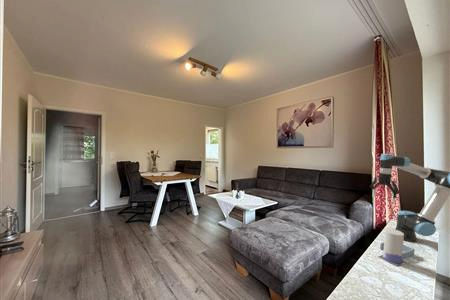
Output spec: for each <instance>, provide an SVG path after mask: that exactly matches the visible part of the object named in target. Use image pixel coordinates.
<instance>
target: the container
mask: <svg viewBox="0 0 450 300" xmlns="http://www.w3.org/2000/svg"><path fill="white" fill-rule="evenodd" d="M383 239H384V240H383V242H384V249H383V250H382V252H383V253H382V255H383V257H384V258H385V259H386V260H388V261H391V262H394V263H401V261H402V253H403V251H402V250H403V245H404V233H402V232H400V231H398V230H395V229H394V228H385V230H384V238H383Z"/></svg>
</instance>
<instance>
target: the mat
mask: <svg viewBox="0 0 450 300" xmlns="http://www.w3.org/2000/svg"><path fill="white" fill-rule="evenodd" d="M378 258H380V259H381V260H383V261H385V262H387V263H389V264H391V265H393V266H395V267H399V266H401V265H404V264H406V263H407V262H406V261H405V260H402V261H401V263H394V262H391V261H388V260H386V259H385V258H384V257H383V254H381V255H378Z"/></svg>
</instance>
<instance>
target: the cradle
mask: <svg viewBox="0 0 450 300" xmlns="http://www.w3.org/2000/svg"><path fill="white" fill-rule="evenodd" d="M379 247H380V248H379V249H380V251H383V250H384V241H383V242H380V244H379ZM415 253H416V252H415V249H414V248H412V247H411V246H408V245H405V244H403V250H402V260H403V261H405V260H407V259H410V258H412V257H415Z"/></svg>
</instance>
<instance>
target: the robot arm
mask: <svg viewBox="0 0 450 300" xmlns="http://www.w3.org/2000/svg"><path fill="white" fill-rule="evenodd" d="M393 167H394V168H397V169H399V170H403V171H405V172H408V173H410V174H414V175H417V176H418V177H420V178H421V179H424V180H426V181H428V182H430V183H433V184H434V185H435V189H434V190H433V192H432V193H431V195H430V196H429V198H428V199H427V201H426V202H425V204H424V206H423V207H422V209H421V210H420V212H419V213H415V212H414V211H410V210H399V211H397V218H396V227H395V230H398V231H400V232H402V233H404V240H403V242H404V241H405V242H410V243H411V242H412V243H416V242H417V240H418V238H417V235H420V236H422V237H430V236H432V235H434V234H435V233H436V231H437V229H436V221H435V219H436V218H437V216H438V214H439V213H440V211H441V210H442V208H443V207H444V205H445V204H446V202H447V200H448V199H449V197H450V171H447V170H440V169H434V168H429V167H424V166H420V165H418V164H415V163H412V162H411V159H410V158H409V157H407V156H397V155H396V156H395V155H394V154H393V153H381V154H380V158H379V172H378V173H379V174H378V177H374V179H373V181H372V182H371V184H370V185H369V188H370V189H371V193H372V195H371V196H372V198H376V194H377V189H376V188H377V187H379V186H380V185H384V186H386V187H388V188H389V190H390V191H391V192H392V193H391V200H390V202H391V203H395V200H396V198H397V195H399V194H400V193H401V192H400V191H399V187H398V186H397V183H396V180H392V171H393V170H392V169H393ZM416 234H417V235H416Z"/></svg>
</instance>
